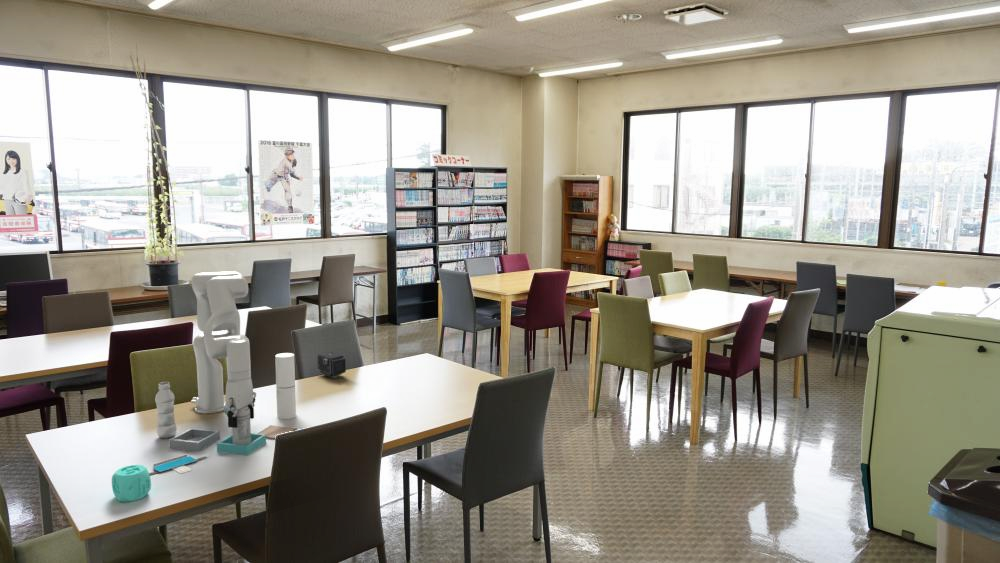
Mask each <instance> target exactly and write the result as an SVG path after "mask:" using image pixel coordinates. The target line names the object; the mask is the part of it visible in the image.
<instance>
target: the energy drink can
mask: <svg viewBox="0 0 1000 563" xmlns="http://www.w3.org/2000/svg"><path fill="white" fill-rule="evenodd" d="M232 412H234V410H232ZM236 416H237V428H231V431H232V432H231V433H232V434H231V435H232V438H233V444H236V445H245V446H246V445H248V444H250V443H251V433H252V428H251V419H250V409H249V408H248V405H247V406H245V407H243V408H241V409H239V410H238V411H237V413H236Z"/></svg>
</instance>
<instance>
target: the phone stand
mask: <svg viewBox="0 0 1000 563" xmlns="http://www.w3.org/2000/svg"><path fill="white" fill-rule="evenodd" d="M207 458H208V456H202V457H198V458H195V457H193V456H190V455H189V456H188V454H184V455H181V456H177V457H175V458H171V459H168V460H164V461H161V462H157V463H154V464H153V465H152V469H153V470H154V471H152V472H149V475H150V476H153V475H156V474H159V473H160V474H161V473H163V472H166V471H169V470H173V471H175V472H176V473H178V474H180V475H183V474H185V473H189V472H191V471H192V470H193V469H192V468H190V467H187V465H190V464H192V463H196V462H199V461H202V460H204V459H207Z"/></svg>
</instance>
